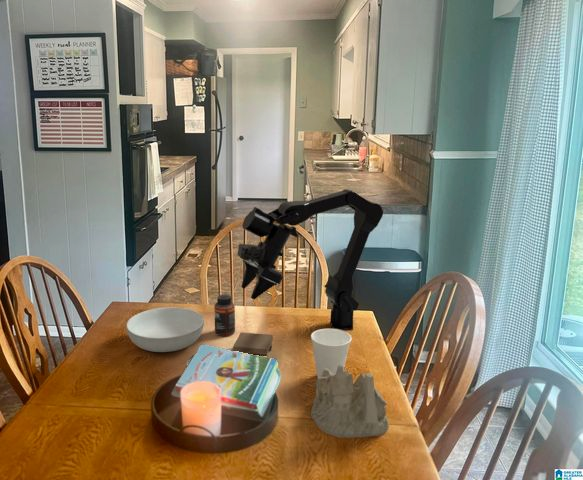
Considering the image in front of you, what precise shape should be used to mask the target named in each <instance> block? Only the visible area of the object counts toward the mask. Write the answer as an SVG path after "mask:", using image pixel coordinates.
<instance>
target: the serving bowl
mask: <svg viewBox="0 0 583 480" xmlns="http://www.w3.org/2000/svg"><path fill="white" fill-rule="evenodd" d="M204 325H205V319H204V316H203V314H201V313H199V312H198V311H196V310H194V309H191V308H185V307H178V306H177V307H175V306H167V307H166V306H165V307H158V308H156V307H155V308H151V309H148V310H144V311H142V312H139V313H136V314H135V315H133V316H132V317H130V318H129V319H128V320H127V323H126V325H125V326H126V327H125V328H126V331H127V334H128V336H129V339H130V340H131V342H132V343H133V344H134V345H136V346H137V347H139V348H141V349H143V350H145V351H149V352H155V353H167V352H168V353H169V352H175V351H179V350H182V349H185V348H187V347H189V346H191V345H193V344H194V343H195V342H196V341H197V340H198V339H199V337H200V336H201V334H202V333H203V329H204Z"/></svg>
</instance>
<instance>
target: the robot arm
mask: <svg viewBox="0 0 583 480" xmlns="http://www.w3.org/2000/svg"><path fill="white" fill-rule="evenodd" d="M346 206H348V207H349V208H350V209H352V210H353V211H354V215H353V230H352V233H351V235H350V238H349V241H348V244H347V246H346V249H345V252H344V254H343V257H342V260H341V263H340V265H339V268H338V271H337V272H336V273H335V274H334V275H331V274H330V275H329V274H328V277H327V281H326V283H325V285H324V286H323V287H324V288H325V290H324V293H325V296H326V297H327V298H328V299H329V300H330V303H331V304H333V305H332V308H331V309H330V325H331V329H338V330H353V329H354V311H357V310H358V308H359V305H360V304H359V302H358V301H357V300H355V298H354V297H353V292H354V276H355V273H356V270H357V268H358V266H359V263H360V260H361V258H362V255H363V253H364V249H365V247H366V244H367V241H368V238H369V236H370V234H371V233H372V232H373V231H374V230H375V229H376V228H377V227H378V225H379V224H380V221H381V220H382V219H383V216H384V210H383V207H382V206H381V205H380V204H379V203H377V202H373V201H370V200H367V199H366V198H364V197H362V196H361V195H359V194H358V193H357V192H356V191H354V190H351V189H348V188H347V189H345V188H344V189H343V190H341V191H336V192H333V193H329V194H327V195H322V196H319V197H316V198H313V199H312V198H311V199H309V200H290V201H285V202H284V201H283V202H282V203H280V204H279V206H278V208H276V209H274V210H272V211H269V212H267V213H266V212H264V211H263V210H261V209H260V208H258V207H256V206H254V207H253V209H252V210H251V211H249V212H248V214H247V215H246V216H245V217H244V219H243V222H242V229H243V230H244V231H247V232H249V233H251V234H253V235H255V236H256V237H259V238H264V237H265V238H264V240H263V241H262V240H260V241H259V242H258V244H257V245H255V244H247V243H239V244H238V248H237V256H238V257H239V258H240V259H241V260H242V263H243V265H244V272H243V273H244V274H243V277H242V283H241V288H242V289H244V290H245V289H246V288H247V287H248V286H249V285H250V284H251V283H252V282H253V281H254V280H255V279H257V280H256V282H255V285H254V287H253V290H252V292H251V293H252V294H251V296H250V298H251V300H256V299H257V298H258V297H260V296H261V295H263V294H264V293H265V292H267V291H268V290H270V289H271V288H272V287H274V286H277V285H280V284H281V282H282V281H283V279H284V278H283V277H284V276H283V274H282V273H281V272H280V271H279V270H278V269H276V268H277V266H276V263H277V261H278V259H279V257H283V256H284V253H283V250H284V247H285V246H286V244H287V242H288V240H289V238H290V237H291V236H292V237H294V238H298V237H299V235H298V232H297V227H296V226H298V225H300V224H302V223H305V222H306V221H308V220H309V219H310V218H311V217H313V216H315V215H319V214H321V213H322V214H323V213H325V212H329V211H332V210H336V209H338V208H342V207H346ZM275 222H276V223H277V224H276V223H275ZM287 225H289V226H287Z"/></svg>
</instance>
